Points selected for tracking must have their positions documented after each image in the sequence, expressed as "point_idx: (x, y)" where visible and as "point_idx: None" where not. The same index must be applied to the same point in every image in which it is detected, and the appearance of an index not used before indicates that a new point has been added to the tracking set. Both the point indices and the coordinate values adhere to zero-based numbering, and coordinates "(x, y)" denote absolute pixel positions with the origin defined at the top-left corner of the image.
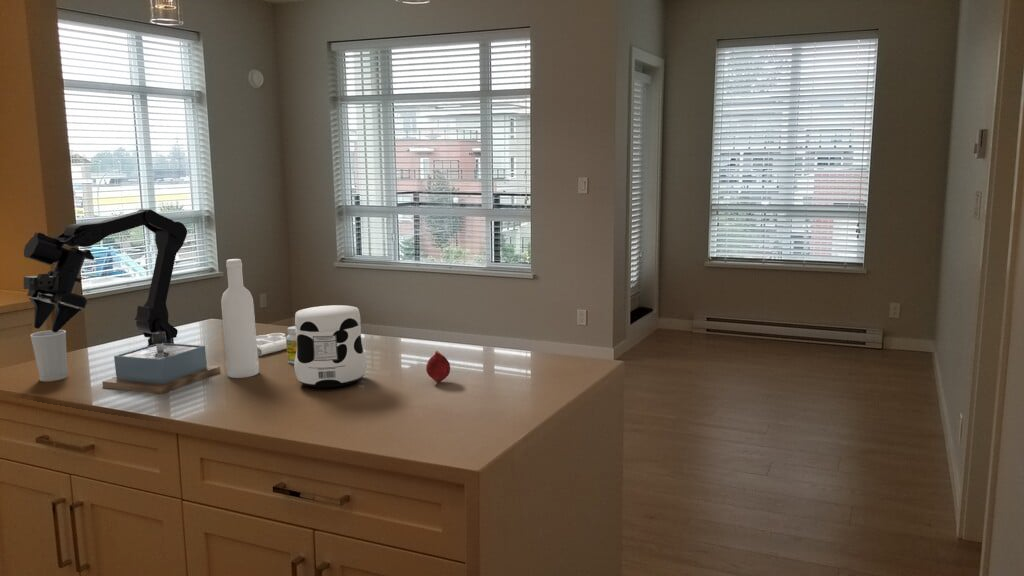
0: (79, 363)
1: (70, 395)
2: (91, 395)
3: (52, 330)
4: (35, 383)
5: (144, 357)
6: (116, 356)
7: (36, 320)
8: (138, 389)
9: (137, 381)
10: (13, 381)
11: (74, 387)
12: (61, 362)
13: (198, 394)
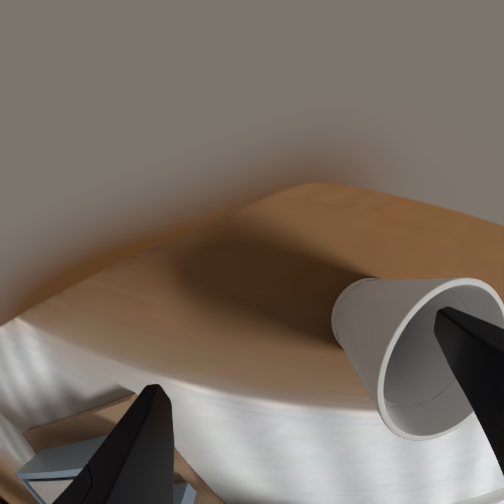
0: None
1: (109, 308)
2: (78, 345)
3: (144, 388)
4: (341, 259)
5: (56, 484)
6: None
7: (470, 338)
8: (57, 421)
9: (81, 441)
10: (413, 212)
11: (190, 341)
12: (348, 357)
13: (10, 448)
